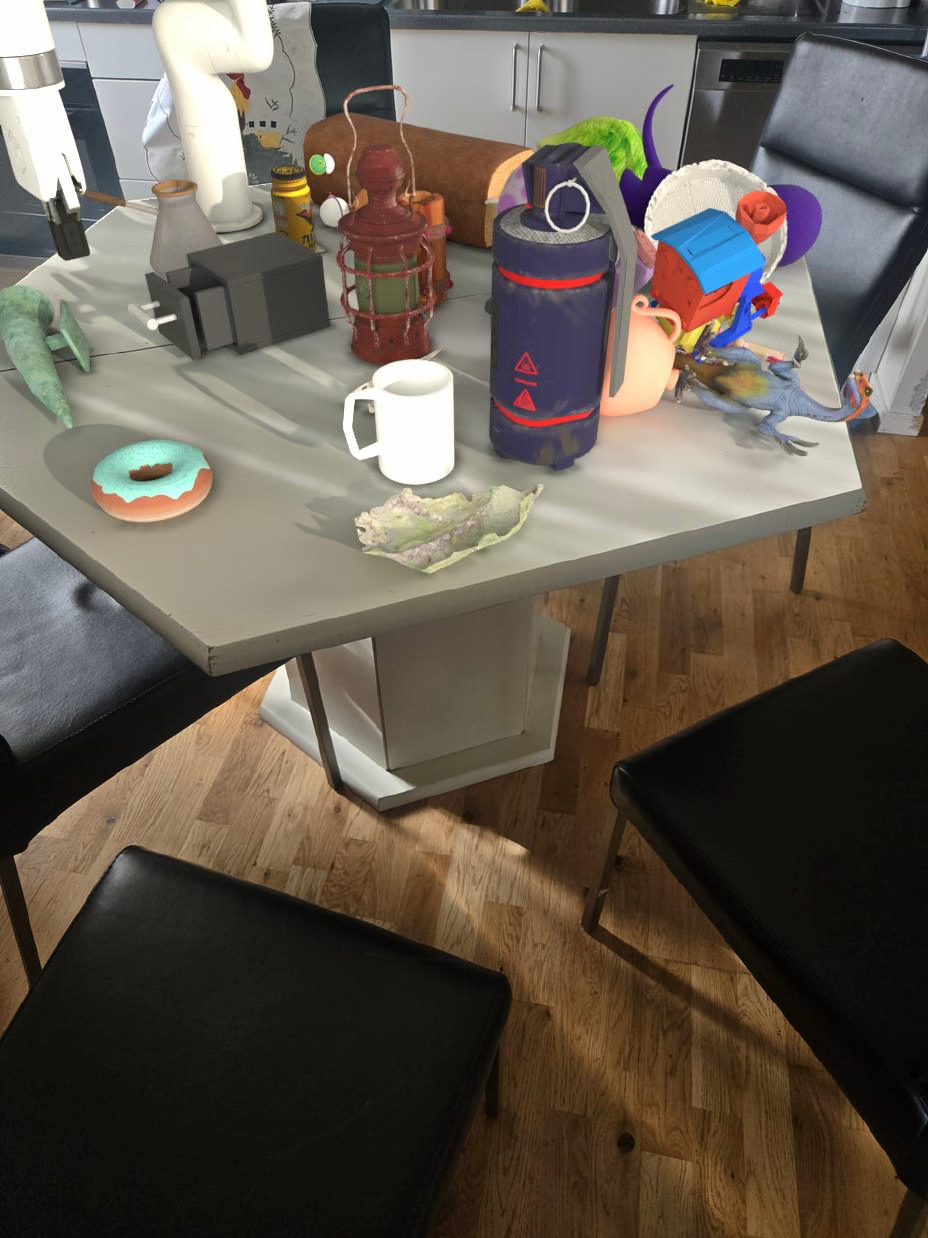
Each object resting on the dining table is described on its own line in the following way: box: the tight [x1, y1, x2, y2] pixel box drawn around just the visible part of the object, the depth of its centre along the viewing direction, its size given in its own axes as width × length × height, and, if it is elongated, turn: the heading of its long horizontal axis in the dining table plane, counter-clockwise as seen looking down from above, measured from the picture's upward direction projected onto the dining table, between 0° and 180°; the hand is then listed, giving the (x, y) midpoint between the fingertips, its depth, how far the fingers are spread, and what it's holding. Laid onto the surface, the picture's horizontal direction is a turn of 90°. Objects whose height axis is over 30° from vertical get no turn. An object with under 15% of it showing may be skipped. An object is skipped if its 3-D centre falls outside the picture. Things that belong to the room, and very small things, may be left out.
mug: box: [350, 188, 454, 308], centre depth 124 cm, size 15×8×15 cm, turn 71°
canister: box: [488, 142, 638, 472], centre depth 89 cm, size 14×12×30 cm
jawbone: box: [347, 348, 442, 414], centre depth 110 cm, size 17×5×2 cm, turn 148°
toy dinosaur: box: [672, 319, 874, 457], centre depth 102 cm, size 11×22×20 cm
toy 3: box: [619, 83, 823, 268], centre depth 135 cm, size 21×24×30 cm
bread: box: [302, 111, 536, 249], centre depth 150 cm, size 16×39×13 cm, turn 54°
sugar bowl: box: [599, 293, 681, 417], centre depth 101 cm, size 12×14×10 cm
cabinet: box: [186, 230, 331, 355], centre depth 119 cm, size 14×12×10 cm
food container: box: [644, 159, 788, 285], centre depth 127 cm, size 20×20×7 cm
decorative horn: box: [0, 284, 91, 430], centre depth 109 cm, size 7×11×30 cm
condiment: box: [269, 164, 327, 254], centre depth 139 cm, size 7×8×12 cm
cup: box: [342, 358, 455, 485], centre depth 93 cm, size 8×12×10 cm
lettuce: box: [536, 115, 648, 185], centre depth 150 cm, size 15×22×15 cm, turn 54°
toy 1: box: [309, 154, 350, 233], centre depth 147 cm, size 6×12×8 cm
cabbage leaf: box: [354, 482, 545, 574], centre depth 85 cm, size 16×8×15 cm
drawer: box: [127, 265, 236, 361], centre depth 115 cm, size 16×10×8 cm, turn 128°
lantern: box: [335, 84, 436, 365], centre depth 107 cm, size 12×12×30 cm
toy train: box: [649, 191, 787, 364], centre depth 100 cm, size 10×16×15 cm, turn 118°
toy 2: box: [495, 164, 657, 312], centre depth 121 cm, size 17×23×30 cm
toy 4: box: [675, 326, 786, 366], centre depth 110 cm, size 7×6×15 cm
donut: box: [90, 438, 214, 523], centre depth 91 cm, size 12×12×4 cm
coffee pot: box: [76, 179, 224, 281], centre depth 128 cm, size 21×12×15 cm, turn 114°
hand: (74, 255), depth 102 cm, fingers closed
